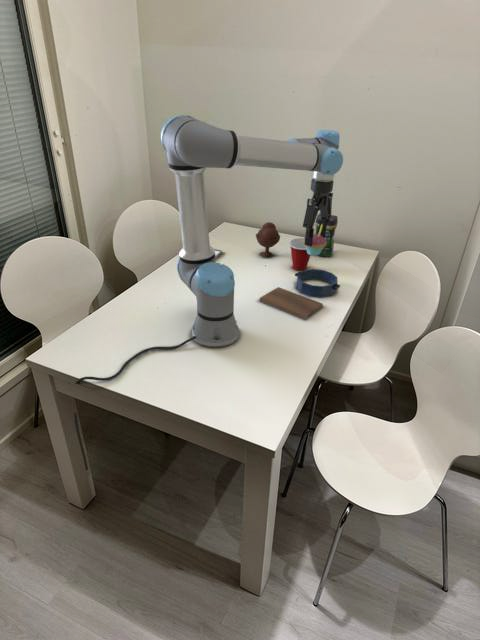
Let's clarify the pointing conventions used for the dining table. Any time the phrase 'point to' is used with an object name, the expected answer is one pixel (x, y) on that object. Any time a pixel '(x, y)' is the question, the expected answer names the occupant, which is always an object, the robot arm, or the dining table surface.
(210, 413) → the dining table surface
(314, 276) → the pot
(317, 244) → the cupcake
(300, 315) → the cutting board
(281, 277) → the dining table surface
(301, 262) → the plastic cup
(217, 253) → the smartphone
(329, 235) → the coffee jar
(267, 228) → the ice cream bowl
